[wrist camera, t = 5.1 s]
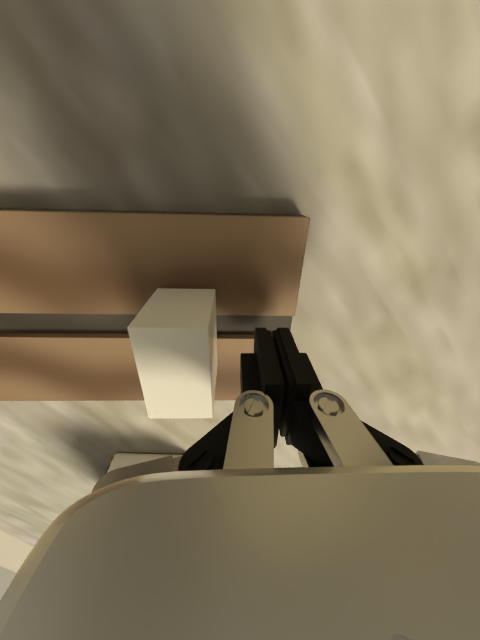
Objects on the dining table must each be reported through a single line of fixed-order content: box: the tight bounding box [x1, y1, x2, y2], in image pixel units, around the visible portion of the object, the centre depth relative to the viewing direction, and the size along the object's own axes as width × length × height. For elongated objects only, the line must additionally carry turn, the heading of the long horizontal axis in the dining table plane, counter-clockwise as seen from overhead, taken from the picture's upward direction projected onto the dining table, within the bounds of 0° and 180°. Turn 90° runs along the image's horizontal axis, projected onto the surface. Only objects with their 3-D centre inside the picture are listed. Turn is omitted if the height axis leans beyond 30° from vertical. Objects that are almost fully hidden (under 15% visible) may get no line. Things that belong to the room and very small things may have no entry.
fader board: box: [0, 208, 310, 401], centre depth 14 cm, size 12×28×2 cm, turn 89°
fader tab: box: [127, 288, 218, 418], centre depth 12 cm, size 5×3×4 cm, turn 179°
